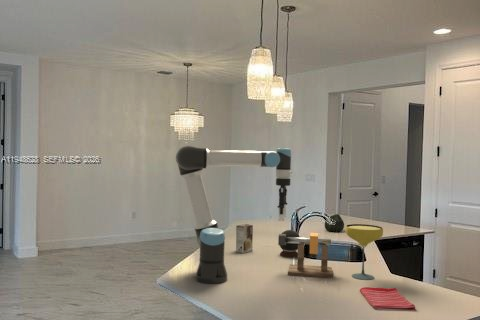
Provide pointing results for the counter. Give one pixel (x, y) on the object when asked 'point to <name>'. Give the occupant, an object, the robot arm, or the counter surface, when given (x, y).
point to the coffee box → (244, 238)
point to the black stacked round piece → (290, 245)
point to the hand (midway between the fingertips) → (282, 218)
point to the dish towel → (386, 299)
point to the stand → (311, 270)
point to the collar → (313, 243)
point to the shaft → (300, 240)
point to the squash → (337, 226)
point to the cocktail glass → (363, 241)
